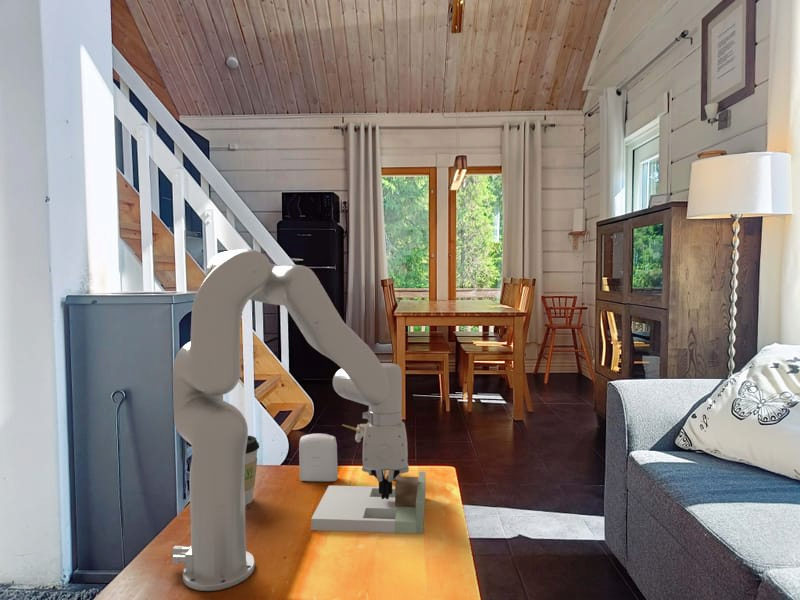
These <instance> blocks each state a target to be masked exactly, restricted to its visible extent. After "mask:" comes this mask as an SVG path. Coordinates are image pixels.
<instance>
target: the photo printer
mask: <svg viewBox="0 0 800 600" xmlns="http://www.w3.org/2000/svg"><path fill="white" fill-rule="evenodd" d="M298 443H299V444H298V447H299V448H298V450H299V451H298V452H299V455H298V456H299V480H300V481H303V482H336V481H337V480H338V478H339V475H338V444H337V439H336V436H334V435H330V434H328V433H310V434H305V435H302V436H301V437H300V438H299V442H298Z"/></svg>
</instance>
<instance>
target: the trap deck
mask: <svg viewBox="0 0 800 600" xmlns="http://www.w3.org/2000/svg"><path fill="white" fill-rule="evenodd" d="M425 509H426V471H419V472H418V488H417V497H416V507H395V486H392V494H389V499H382V494H379V486H365V485H364V486H362V485H361V486H359V485H331V484H330V485H328V486H327V487H326V490H325V492H324V494H323V496H322V498H321V499H320V501H319V503H318V505H317V507H316V509H315V510H314V513H313V514H312V517H311V519H310V520H311V522H310V523H311V524H310V529H311V531H330V532H333V531H335V532H356V531H357V533H359V532H362V533H363V532H364V533H388V534H389V533H391V534H394V533H396V534H420V535H421V534H422V535H423V534H424V524H425V523H424V522H425V511H426V510H425Z"/></svg>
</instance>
